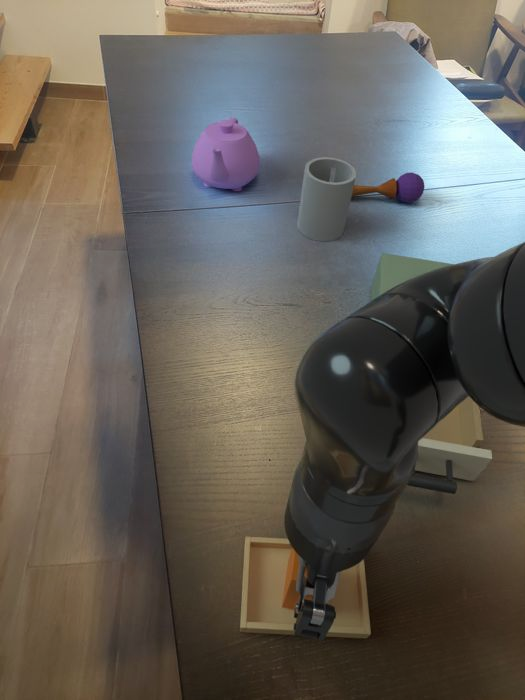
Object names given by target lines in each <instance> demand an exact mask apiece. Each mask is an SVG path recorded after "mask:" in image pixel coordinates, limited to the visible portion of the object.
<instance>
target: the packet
mask: <svg viewBox="0 0 525 700" xmlns="http://www.w3.org/2000/svg"><path fill="white" fill-rule="evenodd" d="M298 567H299V562H298V554H297V553H296V552H295V550H294V549H293V548H292V549H291V552H290V556H289V559H288V565H287V572H286V579H285V587H284V594H283V601H282V607H283V608H288V609H293V610H295V606H296V603H297V602H298V597H299V593H298V592H297V591H296V578H297V572H298ZM304 576H305V577H306V578H307V571H306V569H305V574H304ZM305 599H306V600H312V595H307V596H306V597H305Z"/></svg>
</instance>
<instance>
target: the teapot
mask: <svg viewBox="0 0 525 700" xmlns="http://www.w3.org/2000/svg"><path fill="white" fill-rule="evenodd" d="M191 169H192V171H193V173H194V175H196V177H197V178H198V179H199V180H201V182H203V186H204V187H206V188H217V189H230V190H232V191H234V192H241V191H243V187H245V186H246V185H247V184H249V183H250V182H251V181H252V180H253V179H255V178H256V176H257V175H258V174H259V171H260V169H261V159H260V154H259V150H258V147H257V145H256V143H255V141H254V140H253V138H252V136H251V134H250V133H249V131H248V130H247V129H246V127H244V126H243V125H242V124H239V121H238V119H237V118H235V117H229V118H228V119H222V120H219V121H216V122H212V123H211V124H208V125H207V126H206V127H205V128H204V130H203V131H202V132H201V134H200V136H199V137H198V139H197V141H196V142H195V144H194V147H193V150H192V154H191Z"/></svg>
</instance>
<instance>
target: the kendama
mask: <svg viewBox="0 0 525 700" xmlns="http://www.w3.org/2000/svg"><path fill="white" fill-rule="evenodd" d="M424 191H425V181H424V179H423V178H422V177H421V175H419V174H417V173H415V172H406V173H403V174H402V175H401V174H400V176H399V177H398V178H397V179H396V178H395V177H393V178H391V179H389V180H387V181H385V182H383V183H381V184H379V185H378V186H371V185H357V184H354V188H353V192H352V196H351V197H356V196H363V195H369V194H375V193H377V194H379V195H382V196H383V197H387V198H389V199H391V200H394V199H395V198H397V199H398V200H399V201H400V202H402V203H404V204H411V203H414V202H416V201H418V200H419V199H420V198H421V197H423V195H424Z"/></svg>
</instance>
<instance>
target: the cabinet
mask: <svg viewBox="0 0 525 700" xmlns="http://www.w3.org/2000/svg"><path fill="white" fill-rule="evenodd" d="M379 256H380V257H379V259H378V263H377V266H376V270H375V273H374V276H373V280H372V283H371V287H370V301H369V302H371V301H373V300H374V299H375V298H377V297H378V296H380V295H382V294H383V293H385V292H386V291H388V290H390V289H391V288H393V287H395V286H397V285H399V284H401V283H403V282H405V281H407V280H410V279H412V278H414V277H417V276H419V275H422V274H424V273H427V272H430V271H433V270H436V269H439V268H442V267H446V266H450V265H454V264H455V263H449V262H442V261H436V260H430V259H423V258H417V257H411V256H404V255H400V254H399V255H398V254H392V253H386V252H381V253H380V255H379Z"/></svg>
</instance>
